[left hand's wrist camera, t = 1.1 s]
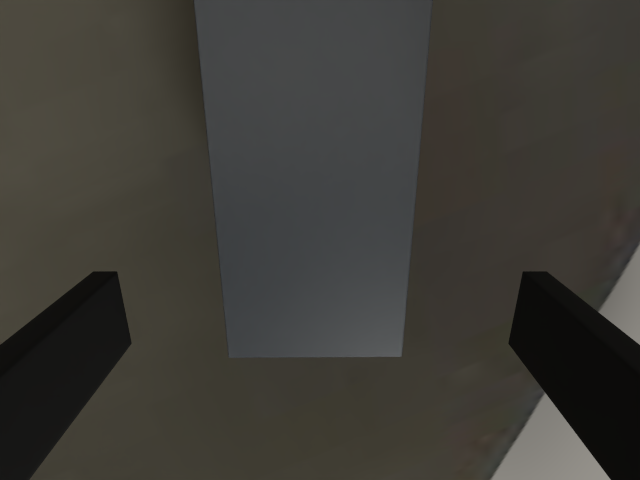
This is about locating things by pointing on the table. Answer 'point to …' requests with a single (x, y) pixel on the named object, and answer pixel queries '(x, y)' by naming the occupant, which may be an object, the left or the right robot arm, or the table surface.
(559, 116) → the table surface
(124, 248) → the table surface
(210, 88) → the box
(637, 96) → the table surface
